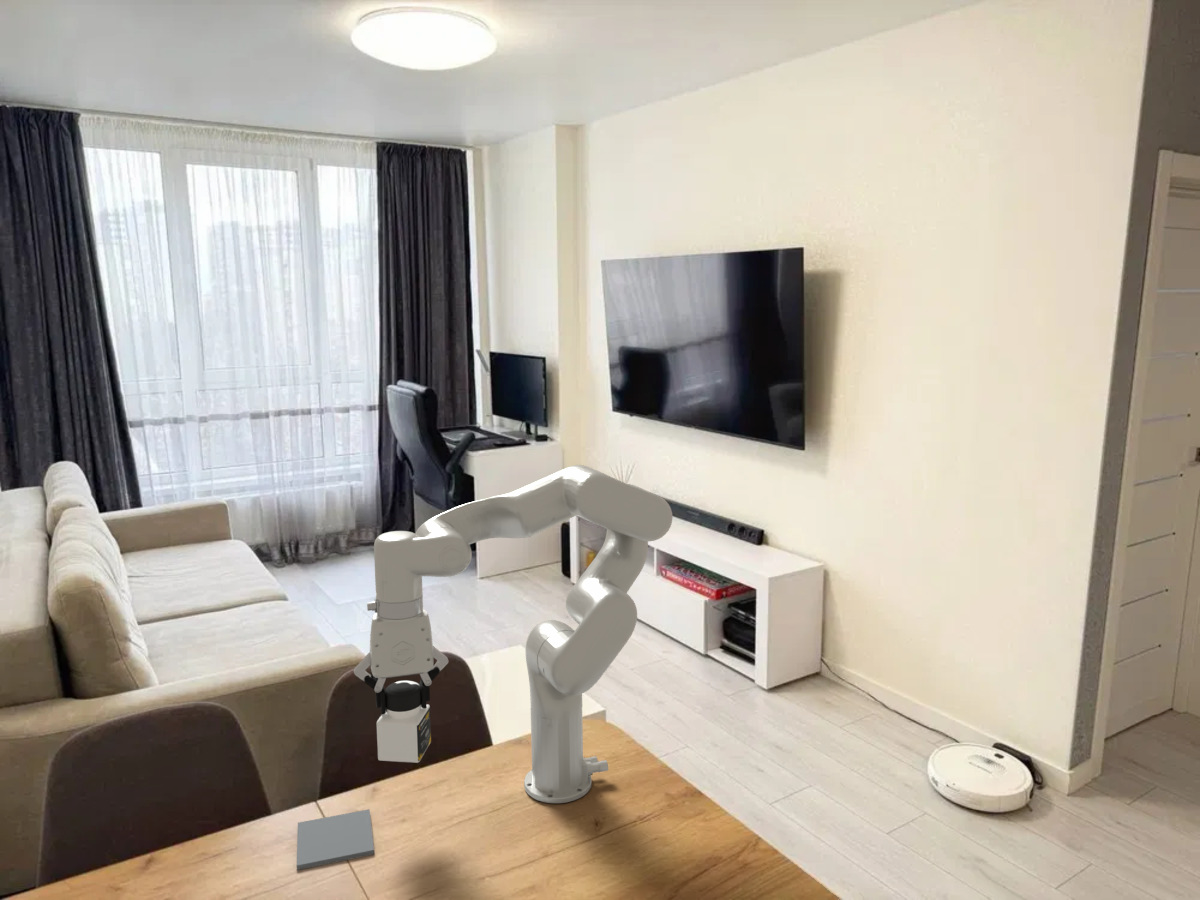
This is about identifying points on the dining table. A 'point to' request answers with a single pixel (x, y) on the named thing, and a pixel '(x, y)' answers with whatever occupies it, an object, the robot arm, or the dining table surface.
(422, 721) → the medicine bottle
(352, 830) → the slate mat
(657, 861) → the dining table surface
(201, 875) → the dining table surface
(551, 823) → the dining table surface
